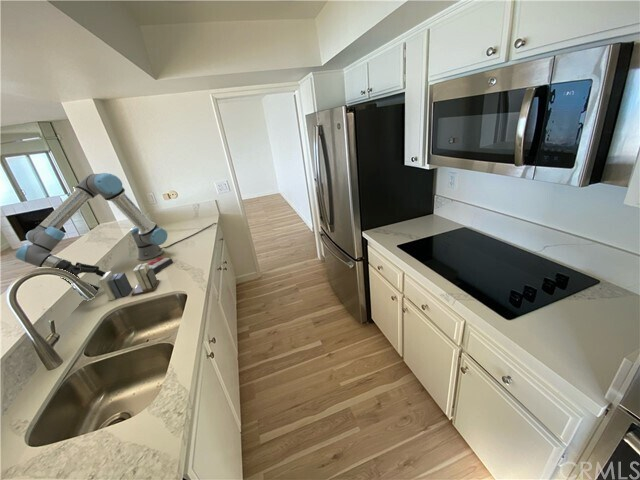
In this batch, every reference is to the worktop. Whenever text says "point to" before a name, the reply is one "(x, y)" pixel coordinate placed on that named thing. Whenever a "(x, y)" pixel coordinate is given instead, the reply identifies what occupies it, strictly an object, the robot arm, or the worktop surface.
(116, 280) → the grey books
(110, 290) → the white book
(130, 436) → the worktop surface
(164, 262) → the red and white box
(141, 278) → the bookstand
